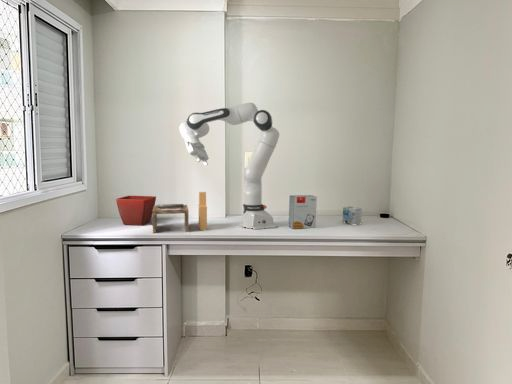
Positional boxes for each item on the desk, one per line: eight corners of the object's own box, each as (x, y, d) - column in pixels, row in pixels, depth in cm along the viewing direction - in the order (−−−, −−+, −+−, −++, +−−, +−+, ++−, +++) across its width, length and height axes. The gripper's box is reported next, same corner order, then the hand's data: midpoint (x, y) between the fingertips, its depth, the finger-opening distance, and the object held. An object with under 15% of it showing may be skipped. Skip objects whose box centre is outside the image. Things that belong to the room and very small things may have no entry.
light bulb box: (342, 222, 249) (342, 206, 248) (348, 221, 253) (349, 206, 252) (355, 225, 241) (355, 209, 240) (361, 224, 245) (362, 208, 244)
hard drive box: (292, 229, 227) (293, 196, 225) (288, 226, 235) (288, 195, 232) (316, 228, 231) (317, 196, 229) (311, 225, 239) (311, 194, 236)
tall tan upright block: (205, 225, 234) (204, 191, 232) (206, 229, 223) (206, 193, 220) (198, 226, 233) (198, 191, 231) (200, 230, 222) (199, 193, 219)
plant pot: (157, 221, 248) (156, 195, 246) (145, 226, 229) (145, 199, 227) (129, 220, 250) (128, 195, 248) (116, 225, 231) (115, 199, 229)
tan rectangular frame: (187, 225, 236) (186, 201, 234) (188, 231, 216) (188, 206, 215) (154, 226, 231) (153, 202, 230) (152, 233, 212) (152, 207, 210)
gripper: (189, 136, 220) (198, 155, 215) (205, 146, 239) (214, 164, 234) (180, 142, 221) (190, 161, 217) (197, 152, 240) (206, 169, 236)
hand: (202, 163), depth 226 cm, fingers open, 8 cm apart
